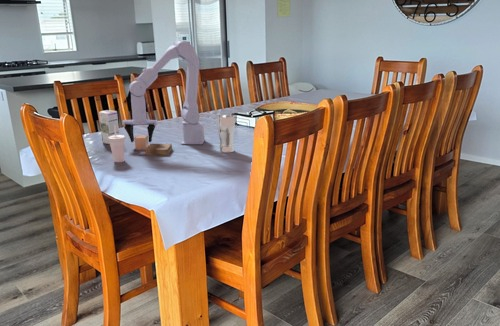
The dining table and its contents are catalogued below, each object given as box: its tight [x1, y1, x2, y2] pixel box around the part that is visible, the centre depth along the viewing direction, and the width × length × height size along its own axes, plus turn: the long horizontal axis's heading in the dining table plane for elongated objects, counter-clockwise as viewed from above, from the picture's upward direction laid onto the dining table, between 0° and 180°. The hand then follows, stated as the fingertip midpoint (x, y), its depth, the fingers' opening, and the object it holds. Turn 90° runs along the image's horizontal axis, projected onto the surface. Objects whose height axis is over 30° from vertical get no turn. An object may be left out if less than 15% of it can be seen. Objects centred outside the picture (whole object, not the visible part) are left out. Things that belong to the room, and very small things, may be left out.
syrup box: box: [98, 109, 120, 146], centre depth 191 cm, size 6×6×14 cm
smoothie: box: [108, 125, 126, 163], centre depth 165 cm, size 6×6×14 cm
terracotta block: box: [134, 134, 150, 150], centre depth 185 cm, size 4×4×5 cm
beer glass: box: [217, 113, 236, 154], centre depth 178 cm, size 7×7×15 cm
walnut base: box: [144, 143, 173, 156], centre depth 178 cm, size 9×9×2 cm
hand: (141, 141), depth 185 cm, fingers open, 7 cm apart
